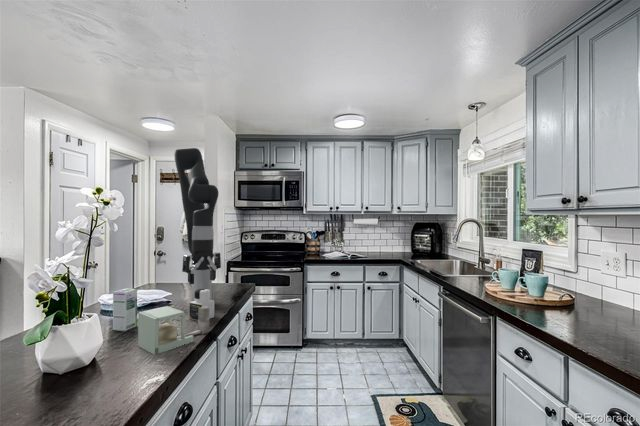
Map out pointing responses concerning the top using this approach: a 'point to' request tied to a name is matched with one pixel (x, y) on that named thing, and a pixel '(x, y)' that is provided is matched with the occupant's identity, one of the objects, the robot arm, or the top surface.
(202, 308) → the towed block
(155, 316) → the green windowed box
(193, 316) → the medicine bottle
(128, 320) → the syrup box
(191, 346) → the top surface
